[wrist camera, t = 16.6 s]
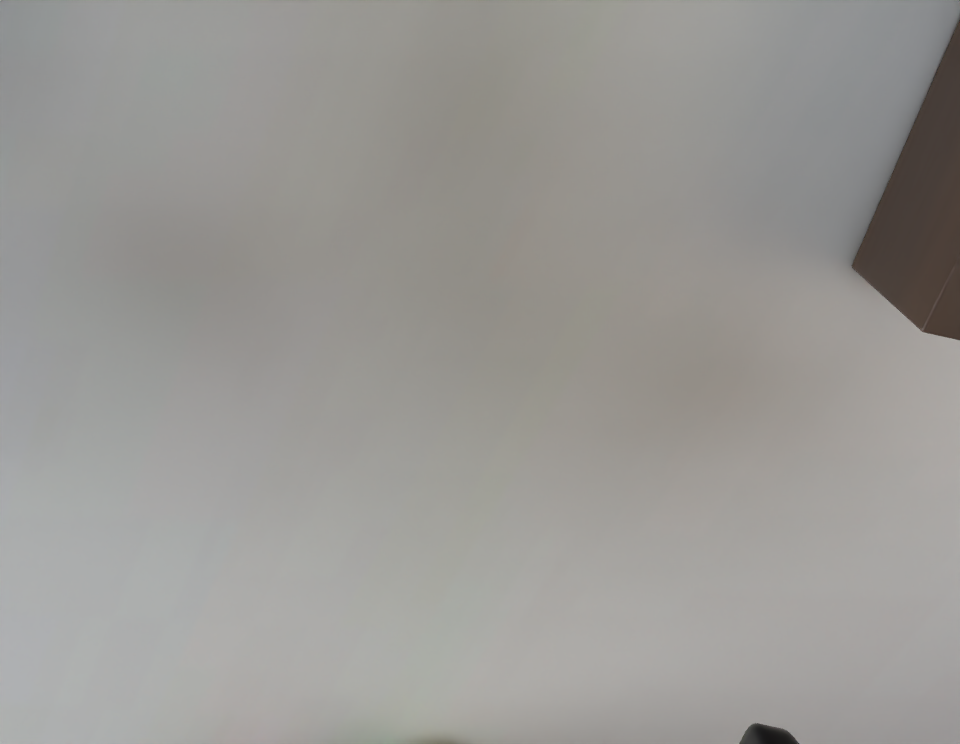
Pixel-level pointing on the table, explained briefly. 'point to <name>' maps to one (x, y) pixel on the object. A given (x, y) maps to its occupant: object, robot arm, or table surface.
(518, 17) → the table surface
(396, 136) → the table surface
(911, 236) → the knife
